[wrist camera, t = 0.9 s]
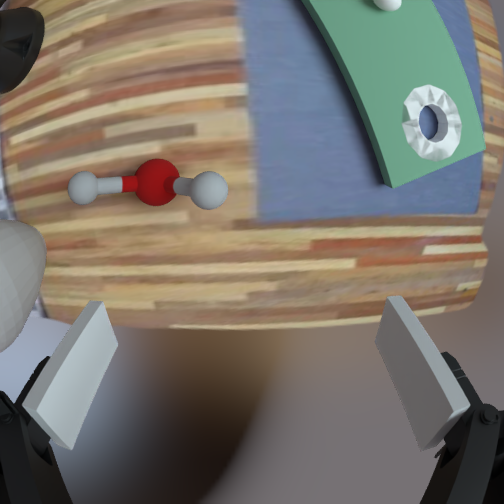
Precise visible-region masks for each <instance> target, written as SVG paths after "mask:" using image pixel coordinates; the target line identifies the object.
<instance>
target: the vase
mask: <svg viewBox="0 0 504 504" xmlns="http://www.w3.org/2000/svg"><path fill="white" fill-rule="evenodd" d="M46 254H47V248H46V244H45V241H44V238H43V236H42V235H41V233H40V232H39V231H38V230H37V229H36V228H35V227H33V226H30V225H27V224H25V223H23V222H19V221H12V220H4V219H0V352H2V351H4V350H5V349H6V348H7V347H9V346H10V345H11V344H12V343H13V342H14V340H15V339H16V338H17V337H18V335H19V334H20V333H21V331H22V329H23V327H24V325H25V323H26V321H27V318H28V316H29V314H30V312H31V310H32V308H33V306H34V304H35V301H36V299H37V296H38V293H39V289H40V286H41V282H42V279H43V275H44V271H45V264H46Z"/></svg>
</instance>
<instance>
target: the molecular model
mask: <svg viewBox="0 0 504 504" xmlns="http://www.w3.org/2000/svg"><path fill="white" fill-rule="evenodd" d="M123 192H135V193H136V195H137V196H138V198H139V199H140V200H141V201H143V202H144V203H146V204H148V205H151V206H161V205H164V204H166V203H168V202H170V201H171V200H172V199H173V198H174V197H175V196H176V194H180V195H185V196H190V197H191V199H192V201H193V202H194V203H195V204H196V205H197V206H198V207H200V208H202V209H207V210H210V209H215V208H217V207H219V206H220V205H222V204H223V202H224V201H225V200H226V198H227V195H228V186H227V183H226V181H225V179H224V178H223V177H222V176H221V175H220V174H218V173H216V172H211V171H207V172H203V173H200V174H199V175H197V176H196V177H195V178H194V179H191V178H183V177H180V176H179V173H178V170H177V169H176V167H175V166H174V165H173V164H172V163H170V162H169V161H167V160H164V159H152V160H149V161H147V162H145V163H144V164H142V165H141V166H140V167H139V169H138V170H137V172H136V174H135V176H121V177H107V178H96V176H95V175H94V174H92V173H91V172H88V171H81V172H78V173H76V174H75V175H74V176H73V177H72V178H71V179H70V181H69V184H68V194H69V197H70V198H71V200H72V201H73V202H75V203H76V204H79V205H86V204H89V203H91V202H92V201H93V200H94V199H95V198H96V196H97V195H101V194H112V193H123Z"/></svg>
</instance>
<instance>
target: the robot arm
mask: <svg viewBox="0 0 504 504" xmlns="http://www.w3.org/2000/svg"><path fill="white" fill-rule="evenodd" d="M5 1H6V0H0V8H1V6H2V5H3V4H4V2H5ZM44 28H45V27H44V19H43V16H42V15H41V13H40V12H39V11H37V10H34V9H31V8H28V7H20V8H16V9H8V10H2V11H0V94H1V93H6V92H9V91H11V90H12V89H14V88H15V87H16V86H17V85H18V84H20V82H21V81H22V80H23V79H24V78H25V77H26V75H27V74H28V72H29V71H30V69H31V68H32V66H33V64H34V62H35V60H36V58H37V56H38V54H39V51H40V48H41V45H42V42H43V37H44ZM375 343H376V345H377V348H378V350H379V352H380V354H381V356H382V358H383V361H384V363H385V365H386V367H387V370H388V372H389V374H390V377H391V379H392V381H393V383H394V386H395V388H396V390H397V393H398V395H399V397H400V400H401V402H402V405H403V407H404V410H405V412H406V415H407V417H408V420H409V422H410V425H411V427H412V430H413V433H414V435H415V437H416V441H417V443H418V446H419V448H420V451H424V450H426V449H429V448H432V447H435V446H437V445H438V444H439V443H440V442H441V440H442V439H443V438H444V441H445V443H446V444H445V445H444V446H443V447H442V448H441V449H440V451H438V452H437V454H436V455H435V458H437V457H438V456H439V455H440V454H441V455H440V457H439V460H438V463H437V465H436V468H435V470H434V473H433V475H432V478H431V480H430V483H429V485H428V487H427V489H426V491H425V493H424V496H423V498H422V500H421V502H420V504H504V410H503V411H498V410H497V409H496V408H495V407H494V406H492V405H490V404H483V403H482V401H481V400H480V398H479V396H478V395H477V393H476V391H475V390H474V388H473V386H472V384H471V383H470V381H469V379H468V378H467V377H466V375H465V373H464V371H463V370H461V367H460V365H459V363H458V362H457V360H456V359H455V358H454V357H453V356H451V355H450V354H449V353H448V352H444V353H440V352H439V351H438V349H437V347H436V346H435V344H434V343H433V341H432V340H431V338H430V337H429V335H428V334H427V332H426V331H425V329H424V328H423V326H422V325H421V323H420V322H419V320H418V319H417V317H416V316H415V315H414V313H413V312H412V310H411V309H410V307H409V306H408V305H407V303H406V302H405V300H404V299H403V298H402V296H390V297H387V299H386V303H385V307H384V311H383V314H382V318H381V322H380V325H379V329H378V332H377V336H376V339H375ZM117 346H118V342H117V340H116V337H115V334H114V332H113V329H112V326H111V324H110V321H109V318H108V315H107V312H106V309H105V306H104V303H103V301H89V303H88V304H87V305H86V307H85V308H84V309H83V311H82V312H81V314H80V315H79V316H78V318H77V319H76V321H75V322H74V323H73V325H72V326H71V328H70V329H69V330H68V332H67V333H66V335H65V336H64V338H63V339H62V341H61V342H60V344H59V345H58V347H57V348H56V350H55V352H54V353H53V354H52V356H51V357H49V356H47V357H46V358H45V359H43V360H42V361H41V362H40V363H39V364H38V366H37V367H36V369H35V370H34V373H33V374H32V375H31V377H30V380H28V382H27V383H26V385H25V386H24V388H23V390H22V391H21V393H20V395H19V397H18V398H17V400H16V402H15V403H14V404H13V402H12V401H11V400H10V398H9V397H8V396H7V395H6V394H5V392H3V391H0V504H73V503H72V500H71V498H70V496H69V493H68V491H67V489H66V486H65V484H64V481H63V479H62V476H61V473H60V471H59V468H58V465H57V462H56V459H55V456H54V453H53V450H52V447H51V445H50V444H49V441H50V438H51V439H52V440H53V441H54V442H55V443H56V444H57V445H59V446H61V447H64V448H67V449H69V450H72V449H73V447H74V444H75V441H76V439H77V436H78V433H79V431H80V429H81V426H82V423H83V421H84V419H85V417H86V414H87V412H88V410H89V407H90V405H91V402H92V400H93V398H94V396H95V393H96V391H97V389H98V387H99V385H100V382H101V380H102V378H103V376H104V374H105V371H106V369H107V367H108V365H109V363H110V361H111V359H112V357H113V355H114V353H115V351H116V348H117Z"/></svg>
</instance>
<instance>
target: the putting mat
mask: <svg viewBox="0 0 504 504" xmlns="http://www.w3.org/2000/svg"><path fill="white" fill-rule="evenodd" d="M301 1H302V2H303V4H304V6H305V7H306V9H307V10H308V12H309V14H310V15H311V17H312V19H313V20H314V22H315V24H316V25H317V27H318V29H319V31H320V32H321V34H322V36H323V38H324V40H325V41H326V43H327V45H328V47H329V49H330V51H331V53H332V55H333V56H334V58H335V60H336V62H337V64H338V66H339V68H340V71H341V73H342V75H343V77H344V79H345V81H346V83H347V85H348V88H349V90H350V92H351V94H352V96H353V99H354V101H355V103H356V106H357V108H358V111H359V113H360V115H361V118H362V120H363V123H364V125H365V128H366V131H367V133H368V136H369V139H370V141H371V144H372V147H373V150H374V152H375V155H376V158H377V161H378V164H379V167H380V170H381V173H382V177H383V180H384V183H385V185H387V186H389V187H391V188H393V189H394V188H396V187H398V186H401V185H403V184H405V183H408V182H410V181H412V180H415V179H417V178H419V177H421V176H424V175H426V174H428V173H431V172H433V171H435V170H438V169H440V168H442V167H445V166H447V165H449V164H452V163H454V162H456V161H459V160H461V159H463V158H466V157H468V156H470V155H473V154H475V153H477V152H480V151H482V150H484V149H486V146H485V141H484V137H483V132H482V128H481V124H480V120H479V116H478V112H477V109H476V105H475V102H474V98H473V95H472V92H471V89H470V86H469V83H468V80H467V77H466V74H465V71H464V69H463V66H462V63H461V61H460V58H459V56H458V53H457V51H456V49H455V46H454V44H453V42H452V40H451V37H450V35H449V33H448V31H447V29H446V27H445V25H444V23H443V21H442V19H441V17H440V15H439V13H438V11H437V9H436V7H435V6H434V4H433V2H432V0H402V2H401V6H400V7H399V8H398V9H397V10H395V11H385V10H382V9H380V8H379V7H378V6H376V4H375V3H374V1H373V0H301ZM426 105H427V106H429V107H430V108H431V109H432V110H433V111H434V112H435V113H436V116H437V120H438V131H437V133H436V134H435V136H434V137H433V138H432V139H429V140H427V139H426V138H425V136H424V135H423V134H422V133H421V130H420V127H419V123H418V122H419V113H420V112H421V110H422V109H423V107H424V106H426Z"/></svg>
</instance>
